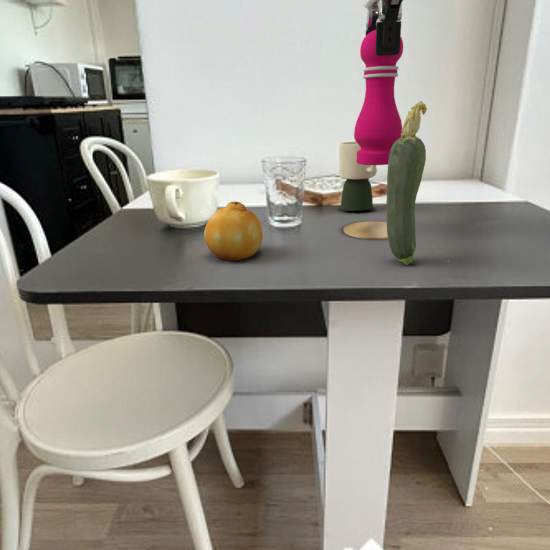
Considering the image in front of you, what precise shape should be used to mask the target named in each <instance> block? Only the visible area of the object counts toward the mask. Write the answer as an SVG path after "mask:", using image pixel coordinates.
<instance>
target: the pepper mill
mask: <svg viewBox="0 0 550 550" xmlns="http://www.w3.org/2000/svg"><path fill="white" fill-rule="evenodd" d="M377 22H380V21H379V18H378V20H377ZM377 22H376V23H377ZM375 49H376V30H374V31H372V32H370V33H369V34H367V35H366V34H365V36H364V38H363V39H362V41H361V44H360V48H359V55H360V59H361V61H362V62H363V63H364V65H365V67H364V68H363V69H362V71H363V75H362V79H365V94H364V98H363V103H362V106H361V109H360V111H359V114H358V116H357V119H356V122H355V125H354V132H353V138H354V142H357V143H358V145H359V146H360V148H361V150H359V151H357V163H358V164H362V165H376V166H388V161H389V155H390V151H391V148H392V146H393V144H394V143H395V142H396V141H397V140H398V139H399V138H401V136H402V135H401V134H402V128H403V124H402V123H403V122H402V118H401V116H400V112H399V111H398V110H399V109H398V107H397V103H396V98H395V82H396V78H397V77H398V76H399V69H400V67H399V66H398V65H397V63H398V61H400V59H401V57H402V56H403V53H404V41H403V38H402V36H401V37H400V52H399V54H398V55H387V56H377V55H376V54H375Z"/></svg>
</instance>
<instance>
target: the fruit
mask: <svg viewBox="0 0 550 550" xmlns="http://www.w3.org/2000/svg"><path fill="white" fill-rule="evenodd" d="M260 221H261V220H260V219H259V218H258V216H257V215H256V214H255V213H254V212H253V211H252V210H250V209H248V208H247V207H246V205H245V204H243V203H242V202H240V201H236V200H235V201H230V202H227V204H226V205H225V207H224V206H223V207H221V208H219V209H217V210H216V211H215V212H214V213H213V214H212V215H211V217H210V218H209V219H208V221H207V222H206V225H205V228H204V233H203V235H204V236H203V237H204V242H205V244H206V246H207V248H208V250H209V251H210V252H211V253H212V254H213V255H214V256H215V257H217V258H219V259H221V260H225V261H241V260H245V259H248V258H251V257H252V256H254V255H255V254H256V253H257V252H258V251H259V250H260V248H261V246H262V244H263V240H264V239H263V238H264V233H263V227H262V224H261V222H260Z"/></svg>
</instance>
